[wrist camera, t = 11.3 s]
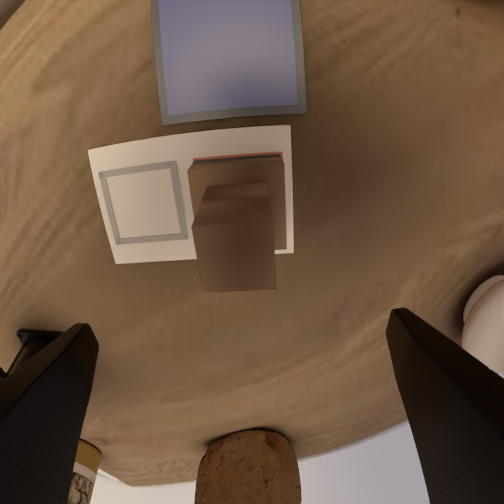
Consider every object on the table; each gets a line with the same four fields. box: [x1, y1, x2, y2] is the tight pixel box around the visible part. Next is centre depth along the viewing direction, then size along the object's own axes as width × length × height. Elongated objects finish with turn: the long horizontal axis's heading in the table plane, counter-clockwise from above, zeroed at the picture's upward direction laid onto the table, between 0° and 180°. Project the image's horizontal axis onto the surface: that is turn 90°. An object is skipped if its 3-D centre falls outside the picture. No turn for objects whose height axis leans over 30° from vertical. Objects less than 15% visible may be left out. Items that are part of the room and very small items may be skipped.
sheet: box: [88, 125, 294, 264], centre depth 19 cm, size 12×8×1 cm, turn 94°
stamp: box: [187, 154, 287, 293], centre depth 15 cm, size 5×5×7 cm
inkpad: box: [151, 0, 307, 126], centre depth 14 cm, size 8×8×1 cm
